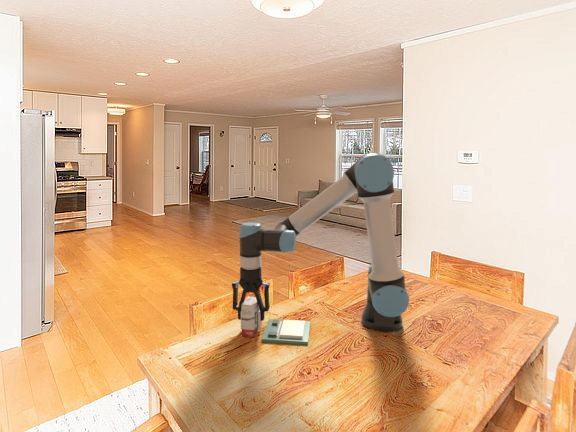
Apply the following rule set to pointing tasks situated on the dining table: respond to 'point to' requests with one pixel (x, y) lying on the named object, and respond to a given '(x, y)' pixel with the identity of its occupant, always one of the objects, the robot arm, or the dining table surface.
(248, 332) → the ink box
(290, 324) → the board
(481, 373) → the dining table surface
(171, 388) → the dining table surface
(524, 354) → the dining table surface
